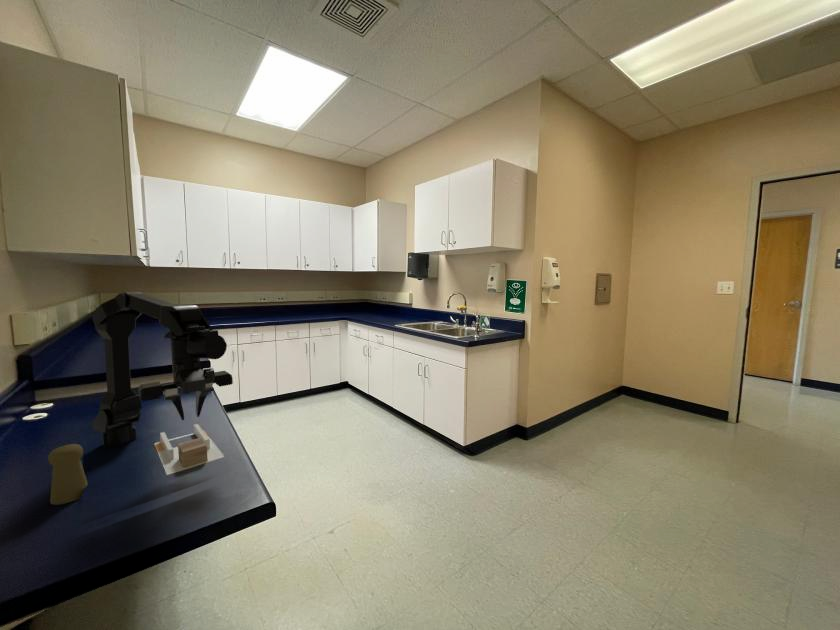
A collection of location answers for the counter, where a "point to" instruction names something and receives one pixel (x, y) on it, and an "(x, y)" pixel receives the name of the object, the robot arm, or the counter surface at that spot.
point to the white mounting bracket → (171, 455)
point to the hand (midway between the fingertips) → (190, 418)
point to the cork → (67, 474)
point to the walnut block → (192, 452)
